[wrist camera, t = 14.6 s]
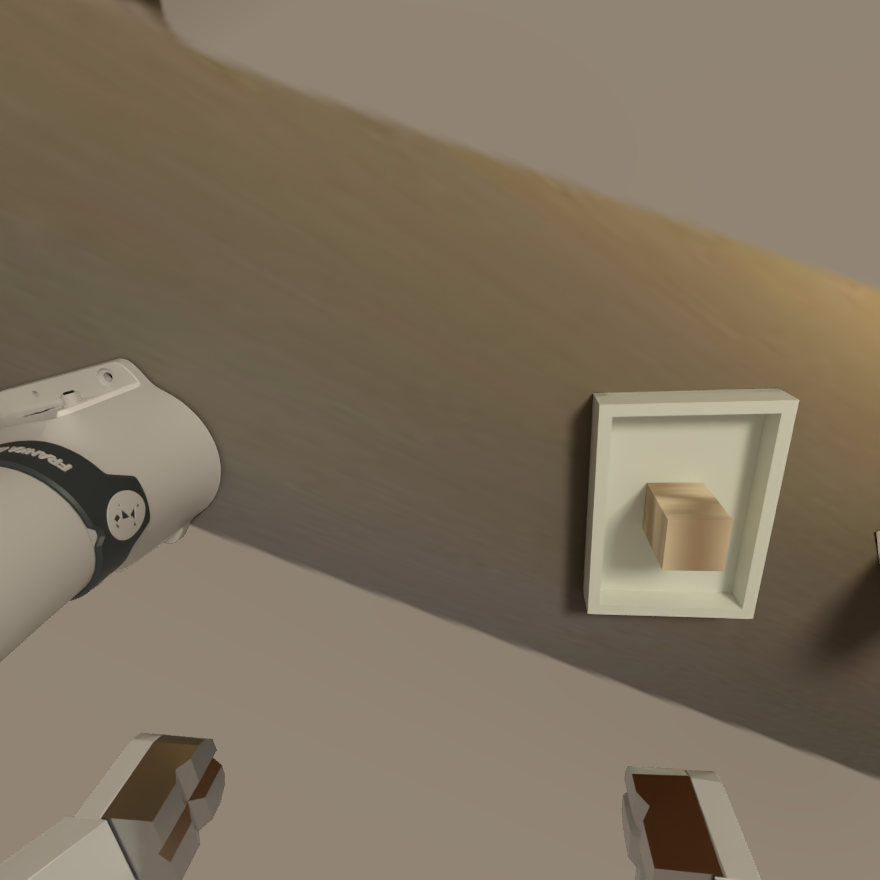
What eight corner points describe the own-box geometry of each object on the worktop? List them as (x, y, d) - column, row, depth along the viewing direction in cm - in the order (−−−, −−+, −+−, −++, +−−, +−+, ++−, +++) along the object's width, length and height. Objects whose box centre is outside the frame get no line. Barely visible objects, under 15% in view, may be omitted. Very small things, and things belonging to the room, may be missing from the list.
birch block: (642, 528, 44) (662, 570, 39) (646, 482, 43) (667, 519, 37) (696, 528, 44) (724, 571, 38) (703, 482, 42) (733, 519, 36)
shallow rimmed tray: (582, 592, 48) (587, 613, 46) (593, 393, 41) (599, 404, 38) (738, 596, 47) (752, 618, 44) (778, 388, 39) (799, 399, 36)
